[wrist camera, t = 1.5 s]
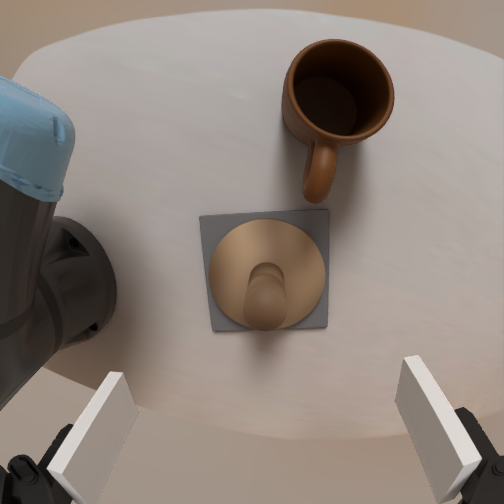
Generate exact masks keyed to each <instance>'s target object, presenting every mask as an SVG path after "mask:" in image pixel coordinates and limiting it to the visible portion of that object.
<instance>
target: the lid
mask: <svg viewBox="0 0 504 504" xmlns="http://www.w3.org/2000/svg"><path fill="white" fill-rule="evenodd" d="M208 276H209V285H210V289H211V292H212V295H213V297H214V299H215V301H216V303H217V304H218V306H219V307H220V308H221V309H222V311H223V312H224V313H225V314H226V315H227V316H229V317H230V318H231V319H233V320H234V321H236V322H238V323H239V324H241V325H244V326H246V327H249V328H253V329H257V330H260V331H270V330H276V329H281V328H285V327H288V326H291V325H293V324H295V323H297V322H298V321H300V320H302V319H303V318H304V317H305V316H307V315H308V314H309V313H310V312H311V311H312V310H313V308H314V307H315V306H316V304H317V303H318V301H319V299H320V297H321V295H322V292H323V289H324V284H325V267H324V262H323V259H322V256H321V254H320V252H319V250H318V248H317V246H316V244H315V243H314V242H313V240H312V239H311V238H310V237H309V236H308V235H307V234H306V233H305V232H304V231H303V230H301V229H300V228H298V227H297V226H295V225H293V224H291V223H289V222H286V221H282V220H278V219H271V218H263V219H255V220H251V221H248V222H245V223H243V224H240V225H239V226H237V227H235V228H234V229H232V230H231V231H230V232H228V233H227V234H226V235H225V236H224V237H223V239H222V240H221V241H220V243H219V244H218V245H217V247H216V249H215V251H214V252H213V255H212V257H211V260H210V265H209V272H208Z"/></svg>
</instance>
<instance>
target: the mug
mask: <svg viewBox="0 0 504 504" xmlns="http://www.w3.org/2000/svg"><path fill="white" fill-rule="evenodd" d="M393 106H394V88H393V83H392V80H391V77H390V75H389V73H388V71H387V69H386V68H385V66H384V65H383V63H382V62H381V61H380V60H379V59H378V58H377V57H376V56H375V55H374V54H373V53H372V52H371V51H369V50H368V49H366V48H365V47H363V46H361V45H359V44H356V43H353V42H350V41H346V40H340V39H328V40H322V41H318V42H315V43H313V44H311V45H309V46H307V47H305V48H304V49H303V50H302V51H300V52H299V53H298V54H297V56H296V57H295V58H294V60H293V61H292V63H291V65H290V67H289V69H288V71H287V73H286V77H285V80H284V86H283V93H282V115H283V119H284V121H285V124H286V126H287V127H288V129H289V130H290V132H291V133H292V134H293V135H294V136H295V137H296V138H297V139H298V140H300V141H301V142H303V143H304V144H307V145H309V152H308V157H307V162H306V166H305V171H304V177H303V189H302V190H303V195H304V198H305V199H306V200H307V201H309V202H311V203H320V202H322V201H323V200H324V199H325V198H326V197H327V195H328V193H329V191H330V188H331V185H332V182H333V178H334V174H335V169H336V162H337V155H338V149H339V147H343V146H347V145H351V144H355V143H358V142H361V141H363V140H365V139H367V138H368V137H370V136H372V135H374V134H375V133H377V132H378V131H379V130H380V129H381V128H382V127H383V126H384V125H385V124H386V123H387V121H388V119H389V117H390V115H391V113H392V110H393Z"/></svg>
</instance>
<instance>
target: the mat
mask: <svg viewBox="0 0 504 504" xmlns="http://www.w3.org/2000/svg"><path fill="white" fill-rule="evenodd" d="M263 218H271V219H278V220H282V221H286V222H289V223H291V224H293V225H295V226H297V227H298V228H300V229H301V230H303V231H304V232H305V233H306V234H307V235H308V236H309V237H310V238H311V239H312V240H313V242H314V243H315V244H316V246H317V248H318V250H319V252H320V254H321V256H322V259H323V262H324V267H325V284H324V289H323V292H322V295H321V297H320V299H319V301H318V303H317V304H316V306H315V307H314V308H313V310H312V311H311V312H310V313H309V314H308V315H307V316H305V317H304V318H303V319H302V320H300V321H298V322H297V323H295V324H293V325H291V326H288V327H285V328H281V329H296V328H314V327H327V324H328V292H329V213H328V209H322V210H296V211H275V212H255V213H238V214H222V215H206V216H200V217H199V220H200V230H201V240H202V249H203V258H204V267H205V276H206V284H207V293H208V301H209V308H210V316H211V324H212V331H235V330H257V329H253V328H249V327H246V326H244V325H241V324H239V323H238V322H236V321H234V320H233V319H231V318H230V317H229V316H227V315H226V314H225V313H224V312H223V311H222V309H221V308H220V307H219V306H218V304H217V303H216V301H215V299H214V297H213V295H212V292H211V289H210V285H209V276H208V272H209V265H210V260H211V257H212V255H213V252H214V251H215V249H216V247H217V245H218V244H219V243H220V241H221V240H222V239H223V237H224V236H225V235H226V234H227V233H228V232H230V231H231V230H232V229H234V228H235V227H237V226H239V225H240V224H243V223H245V222H248V221H251V220H255V219H263Z"/></svg>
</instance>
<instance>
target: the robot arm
mask: <svg viewBox="0 0 504 504" xmlns="http://www.w3.org/2000/svg"><path fill="white" fill-rule="evenodd" d="M74 144H75V129H74V126H73V123H72V121H71V120H70V118H69V117H68V115H67V114H66V113H65V112H64V111H63V110H61V109H60V108H59V107H58V106H56V105H55V104H53V103H52V102H50V101H49V100H47V99H45V98H44V97H42V96H40V95H38V94H37V93H35V92H33V91H31V90H29V89H27V88H26V87H24V86H22V85H20V84H18V83H16V82H14V81H11V80H9V79H7V78H5V77H3V76H0V411H1V410H2V408H3V407H4V406H5V405H6V404H7V403H8V402H9V401H10V400H11V399H12V397H13V396H14V395H15V394H16V393H17V392H18V391H19V390H20V389H21V388H22V387H23V385H24V384H26V382H27V381H28V380H29V379H30V378H31V377H32V376H33V375H34V374H35V373H36V372H37V371H38V370H39V369H40V368H41V367H42V366H43V365H44V364H45V363H46V362H47V361H48V360H49V359H50V357H52V356H53V355H54V354H55V353H56V352H57V351H58V350H61V349H64V348H67V347H70V346H73V345H75V344H78V343H81V342H84V341H87V340H89V339H91V338H92V337H94V336H95V335H96V334H97V333H98V332H99V331H100V330H101V329H102V328H103V327H104V326H105V325H106V324H107V323H108V321H109V320H110V318H111V316H112V314H113V311H114V308H115V303H116V282H115V277H114V273H113V269H112V266H111V264H110V261H109V259H108V257H107V255H106V253H105V251H104V249H103V248H102V246H101V245H100V243H99V242H98V240H97V239H96V238H95V237H94V236H93V235H92V233H90V232H89V231H88V230H87V229H86V228H85V227H84V226H82V225H81V224H79V223H78V222H76V221H74V220H72V219H69V218H66V217H60V216H54V217H53V215H54V211H55V208H56V204H57V202H58V201H60V198H61V197H62V195H63V192H64V188H63V181H64V178H65V174H66V171H67V167H68V164H69V161H70V158H71V155H72V152H73V149H74ZM395 403H396V405H397V407H398V409H399V412H400V414H401V416H402V418H403V421H404V423H405V425H406V427H407V430H408V432H409V434H410V437H411V439H412V442H413V444H414V446H415V448H416V451H417V453H418V456H419V458H420V461H421V463H422V466H423V468H424V471H425V473H426V476H427V478H428V481H429V483H430V486H431V489H432V491H433V494H434V497H435V499H436V502H437V504H441V503H444V502H447V501H450V500H452V499H454V498H455V497H456V496H457V495H458V493H459V492H461V494H462V497H463V498H462V499H461V500H460V502H459V503H458V504H504V456H499V454H498V453H497V452H496V450H495V448H494V447H493V445H492V444H491V442H490V440H489V439H488V437H487V436H486V434H485V432H484V431H483V430H482V427H481V426H480V424H478V421H477V420H476V418H475V417H474V415H473V414H472V413H471V412H470V411H468V410H467V409H466V408H464V407H462V408H459V409H456V410H453V408H452V407H451V405H450V403H449V402H448V400H447V399H446V397H445V395H444V394H443V392H442V391H441V389H440V388H439V386H438V384H437V383H436V381H435V380H434V378H433V377H432V375H431V374H430V372H429V371H428V369H427V368H426V366H425V365H424V363H423V362H422V360H421V359H420V357H419V356H418V355H415V356H410V357H405V358H403V363H402V369H401V374H400V379H399V384H398V389H397V393H396V398H395ZM138 413H139V412H138V410H137V407H136V405H135V402H134V400H133V397H132V395H131V392H130V390H129V387H128V384H127V382H126V379H125V376H124V374H123V372H109V374H108V375H107V376H106V378H105V379H104V381H103V382H102V384H101V385H100V387H99V388H98V390H97V391H96V393H95V394H94V396H93V397H92V399H91V400H90V402H89V403H88V405H87V406H86V408H85V409H84V411H83V412H82V414H81V415H80V417H79V418H78V420H77V421H76V423H75V424H74V425H72V424H68V425H67V426H66V427H64V428H63V429H61V430H60V432H59V433H58V435H57V436H56V439H55V440H54V441H53V442H52V445H51V446H50V447H49V448H48V450H47V451H46V453H45V454H44V456H43V458H42V459H41V461H40V462H39V464H38V465H36V464H35V463H34V461H33V460H32V459H31V458H30V457H29V456H27V455H18V456H15V457H13V458H12V459H11V460H10V462H9V463H8V467H7V469H8V470H9V472H10V473H8V472H7V471H6V470H5V469H4V468H3V467H2V466H1V465H0V504H71V501H72V500H74V501H75V502H76V503H77V504H97V503H98V500H99V498H100V496H101V494H102V491H103V489H104V487H105V485H106V483H107V480H108V478H109V476H110V474H111V472H112V469H113V467H114V465H115V463H116V461H117V458H118V456H119V454H120V452H121V450H122V448H123V445H124V443H125V441H126V439H127V437H128V435H129V433H130V430H131V428H132V426H133V424H134V422H135V420H136V418H137V416H138Z"/></svg>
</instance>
